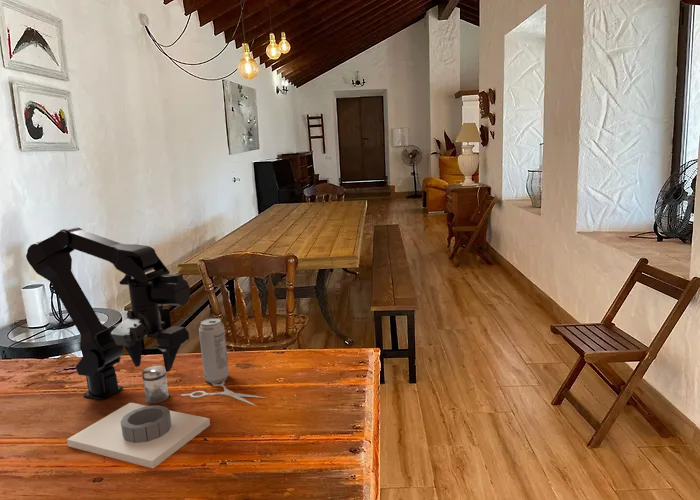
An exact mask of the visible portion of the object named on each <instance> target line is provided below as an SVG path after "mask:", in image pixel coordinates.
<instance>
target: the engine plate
mask: <svg viewBox="0 0 700 500" xmlns="http://www.w3.org/2000/svg"><path fill="white" fill-rule="evenodd" d="M210 422H211V420H210V418H209V417H204V416H201V415H200V416H198V415H193V414H189V413H185V412H180V411H174V410H170V409H169V408H168V407H166V406H162V405H144V404H139V403H135V402H128V403H127V404H125V405H123V406H121V407H120V408H117V410H115V411H113V412H111V413H109V414H107V416H106V415H105V417H102V418H101V419H99V420H98V421H97V420H96V422H94V423H92V424H90V425H89V426H87V427H86V428H84V429H82V430H81V431H80V430H79V432H77V433H75V434H74V435H71V436H70V437H67V439H66V442H67V446H68V447H70V448H73V449H78V450H80V451H85V452H88V453H91V454H95V455H101V456H105V457H107V458H111V459H114V460H115V459H116V460H118V461H119V460H120V461H123V462H126V463H130V464H135V465H139V466H140V467H141V466H142V467H146V468H150V469H154V468H156V467H157V466H159V465H160V464H161V463H162V462H164V461H165V460H167V458H170V456H172V455H173V454H175V452H177V451H179V449H181V448H183V446H185V445H186V444H188V443H189V442H190V441H191V440H193V439H194V438H195V437H196V436H198V435H199V434H200V433H202V432H203V431H204V430H206V429H207V428H208V427H210V426H211V423H210Z"/></svg>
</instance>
